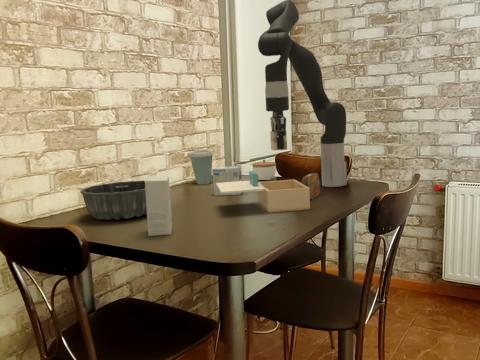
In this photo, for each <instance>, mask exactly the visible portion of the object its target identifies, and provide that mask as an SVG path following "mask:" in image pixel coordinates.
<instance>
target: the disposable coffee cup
mask: <svg viewBox="0 0 480 360" xmlns="http://www.w3.org/2000/svg"><path fill="white" fill-rule="evenodd" d="M213 155H214V154H213V152H212V151H211V149H197V150H194V151H190V154H189V155H188V156H189V157H190V163H191V167H192V170H193V174H194V175H193V176H194V178H195V182H196V184H197V185H207V184H211V182H212V175H213V172H212V169H213Z"/></svg>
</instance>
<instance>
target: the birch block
mask: <svg viewBox="0 0 480 360" xmlns="http://www.w3.org/2000/svg"><path fill="white" fill-rule="evenodd" d="M280 132H282V131H280ZM269 133H270V150H272V151H282V150H283V151H285V150H288V139H287V138H288V135H287V133H286V136H285V137H283V138H284V149H278V148H277V137H276V131H272V130H271V131H270V132H269Z"/></svg>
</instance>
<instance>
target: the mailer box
mask: <svg viewBox="0 0 480 360" xmlns="http://www.w3.org/2000/svg"><path fill="white" fill-rule="evenodd" d="M258 184H260V185H261V186H262V187H263V188H264V189H265V191H256V192H257V193H256V194H257V202H258V204H259V205H260V206H261V207H262V208H263V209H264V210H265V211H266V212H267V214H275V213H283V212H285V213H286V212H295V211H297V212H298V211H307V210H311V199H310V192H309V187H307V186H305V185H303V184H302V182H300V181H298V180H296V179H284V180H274V181H273V180H270V181H258Z"/></svg>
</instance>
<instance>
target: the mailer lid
mask: <svg viewBox="0 0 480 360" xmlns="http://www.w3.org/2000/svg"><path fill="white" fill-rule="evenodd" d="M248 177H249V178H248V180H241V181H236V182H223V183H216V185H217V187H218V189H219V191H220V192H221V194H227V193H240V192H242V193H250V192H251V193H252V192H257V191H265V189H264V188H263V187H262V186H261V185H260V184H258V182H259V181H258V174H257V173H256V172H254V171H253V170H251V171H250V170H249V171H248Z"/></svg>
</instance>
